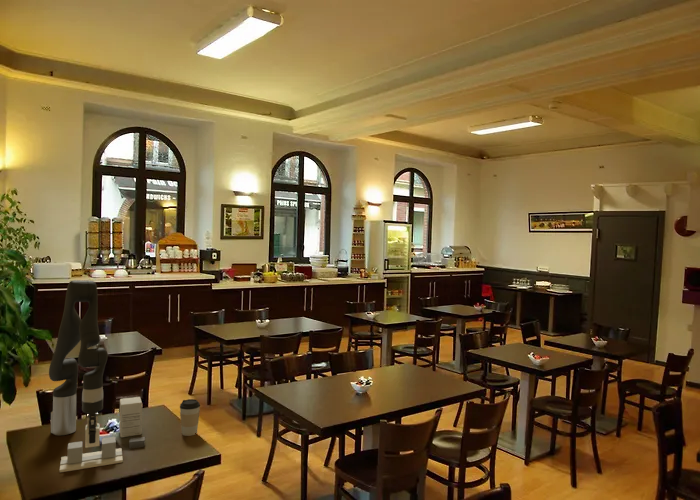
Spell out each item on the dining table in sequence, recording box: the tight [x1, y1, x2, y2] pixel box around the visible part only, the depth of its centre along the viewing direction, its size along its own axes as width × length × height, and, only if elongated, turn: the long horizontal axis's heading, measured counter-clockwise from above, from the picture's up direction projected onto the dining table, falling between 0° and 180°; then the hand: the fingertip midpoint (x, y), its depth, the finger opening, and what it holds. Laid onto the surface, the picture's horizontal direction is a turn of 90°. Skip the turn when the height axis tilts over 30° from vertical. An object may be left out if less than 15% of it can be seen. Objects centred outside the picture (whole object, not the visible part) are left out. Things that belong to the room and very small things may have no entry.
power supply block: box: [128, 436, 146, 449], centre depth 219 cm, size 6×4×3 cm, turn 109°
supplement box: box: [119, 396, 143, 438], centre depth 232 cm, size 9×9×15 cm
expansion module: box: [84, 422, 101, 449], centre depth 203 cm, size 5×6×7 cm
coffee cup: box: [179, 398, 201, 437], centre depth 234 cm, size 9×9×15 cm
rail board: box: [59, 436, 124, 473], centre depth 203 cm, size 22×12×7 cm, turn 116°
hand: (92, 439), depth 203 cm, fingers closed on expansion module, 6 cm apart
